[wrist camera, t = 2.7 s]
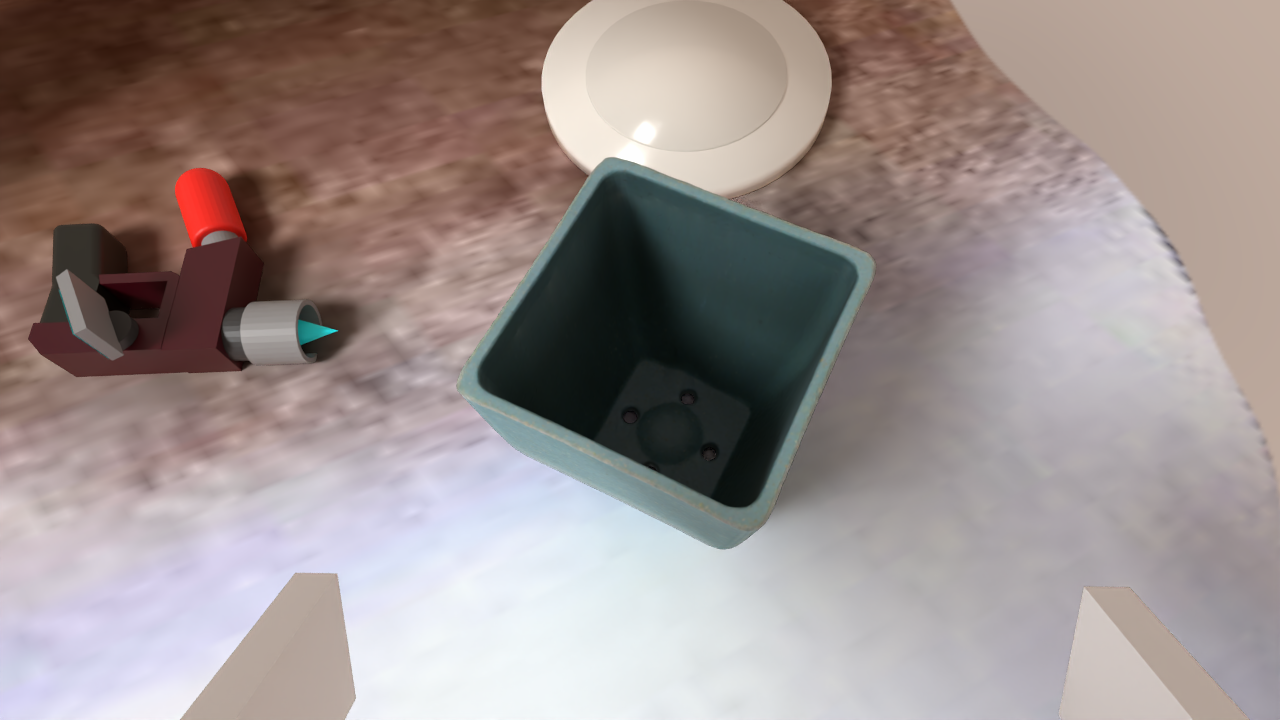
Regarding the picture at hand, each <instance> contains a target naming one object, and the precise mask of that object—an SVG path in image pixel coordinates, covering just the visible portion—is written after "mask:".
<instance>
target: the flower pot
mask: <svg viewBox="0 0 1280 720" xmlns="http://www.w3.org/2000/svg"><path fill="white" fill-rule="evenodd" d="M875 272H876V262H875V260H874V259H873V258H872V256H871V255H870V254H869V253H867V252H865V251H863V250H861V249H859V248H857V247H854V246H851V245H850V244H848V243H844V242H841V241H838V240H836V239H833V238H831V237H828V236H825V235H822V234H819V233H816V232H813V231H811V230H809V229H806V228H803V227H800V226H797V225H795V224H792V223H790V222H788V221H785V220H782V219H780V218H776V217H774V216H773V215H770V214H767V213H764V212H762V211H759V210H756V209H753V208H750V207H748V206H745V205H743V204H739V203H738V202H735V201H732V200H730V199H727V198H726V197H723V196H720V195H717V194H714V193H711V192H709V191H706V190H703V189H701V188H699V187H696V186H694V185H692V184H690V183H687V182H684V181H681V180H678V179H676V178H673V177H670V176H668V175H666V174H663V173H660V172H658V171H656V170H654V169H651V168H648V167H646V166H643V165H640V164H638V163H636V162H632V161H629V160H625V159H621V158H617V157H608V158H605V159H604V160H603V161H602V162H601V163H599V164H598V165H597V166H596V167H595V169H594V170H593V171H592V172H591V174H590V175H589V177H588V178H587V180H586V181H585V183H584V185H583V186H582V188H581V189H580V191H579V193H578V194H577V196H576V197H575V199H574V200H573V202H572V204H571V205H570V206H569V208H568V210H567V211H566V213H565V215H564V216H563V218H562V220H561V221H560V223H559V224H558V226H557V227H556V229H555V231H554V232H553V233H552V235H551V237H550V239H549V240H548V242H547V243H546V244H545V246H544V247H543V249H542V250H541V252H540V254H539V255H538V257H537V258H536V259H535V261H534V263H533V265H532V267H531V268H530V269H529V271H528V272H527V273H526V275H525V277H524V278H523V280H522V281H521V282H520V283H519V285H518V286H517V288H516V290H515V292H514V293H513V294H512V296H511V297H510V299H509V300H508V301H507V303H506V305H505V306H504V307H503V309H502V310H501V311H500V313H499V314H498V317H497V319H496V320H495V321H494V322H493V323H492V325H491V327H490V328H489V330H488V331H487V333H486V334H485V336H484V337H483V339H482V340H481V341H480V343H479V344H478V346H477V347H476V349H475V350H474V352H473V354H472V355H471V356H470V358H469V359H468V361H467V362H466V364H465V365H464V367H463V369H462V371H461V373H460V375H459V378H458V380H457V385H456V387H457V391H458V392H459V393H460V394H461V395H462V396H463V397H464V398H465V399H466V400H467V401H468V402H469V403H470V405H471V406H472V407H473V408H474V409H475V410H476V411H477V412H478V413H479V414H480V415H481V416H482V417H483V418H484V419H485V420H486V421H487V422H488V423H489V424H490V425H491V426H492V427H493V428H494V429H495V430H496V432H498V433H499V434H500V435H501V436H502V437H503V438H504V439H505V440H506V441H507V442H508V443H509V444H510V445H511V446H513V447H514V448H515V449H517V450H518V451H520V452H521V453H523V454H524V455H526V456H528V457H530V458H532V459H534V460H536V461H538V462H540V463H542V464H544V465H547V466H549V467H551V468H553V469H555V470H557V471H559V472H561V473H563V474H565V475H568V476H570V477H572V478H574V479H576V480H578V481H580V482H582V483H584V484H586V485H588V486H590V487H593V488H595V489H597V490H599V491H601V492H603V493H605V494H607V495H609V496H611V497H613V498H615V499H617V500H619V501H621V502H623V503H625V504H628V505H630V506H632V507H634V508H636V509H638V510H640V511H642V512H644V513H646V514H648V515H650V516H652V517H654V518H656V519H658V520H660V521H662V522H664V523H666V524H668V525H670V526H672V527H674V528H676V529H678V530H680V531H682V532H683V533H685V534H687V535H689V536H691V537H693V538H695V539H697V540H699V541H701V542H703V543H705V544H707V545H709V546H712V547H715V548H718V549H730V548H733V547H736V546H737V545H739V544H740V543H742V542H743V541H745V540H746V539H747V538H749V537H750V536H751V535H752V534H754V533H755V532H756V531H757V530H758V529H759V528H761V527H762V526H763V525H764V524H765V523H766V521H767V520H768V518H769V516H770V514H771V512H772V510H773V508H774V506H775V504H776V501H777V499H778V496H779V494H780V491H781V488H782V485H783V483H784V481H785V479H786V476H787V474H788V471H789V469H790V467H791V464H792V462H793V460H794V457H795V455H796V452H797V450H798V448H799V446H800V442H801V440H802V438H803V436H804V433H805V431H806V429H807V426H808V424H809V422H810V419H811V417H812V415H813V412H814V410H815V407H816V405H817V403H818V400H819V398H820V396H821V394H822V392H823V390H824V387H825V385H826V382H827V380H828V378H829V376H830V373H831V371H832V369H833V367H834V364H835V362H836V360H837V357H838V355H839V353H840V350H841V348H842V346H843V344H844V342H845V339H846V337H847V335H848V333H849V331H850V328H851V326H852V324H853V322H854V320H855V318H856V315H857V313H858V311H859V309H860V306H861V304H862V302H863V300H864V298H865V296H866V295H867V293H868V290H869V288H870V286H871V283H872V281H873V279H874V276H875ZM684 394H691V395H693V396H694V399H695V401H694V403H693V404H683V403H682V402H681V397H682V396H683V395H684ZM628 411H634V412H635V413H636V414H637V420H636V421H635V422H634V423H630V424H629V423H626V422H625V421H624V420H623V415H624V414H625V412H628ZM709 447H711V448H713V449H714V450H715V451H716V457H715V458H714V459H713V460H710V461H709V460H706V459H704V457H703V455H702V452H703V451H704V450H705V449H706V448H709ZM648 466H652V467H654V468H655V469H656V470H657V471H655V470H652V469H650V468H648Z"/></svg>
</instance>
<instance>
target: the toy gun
mask: <svg viewBox="0 0 1280 720" xmlns="http://www.w3.org/2000/svg"><path fill="white" fill-rule="evenodd" d="M175 194H176V198H177V201H178V204H179V207H180V210H181V213H182V216H183V219H184V222H185V225H186V228H187V231H188V234H189V237H190V240H191V244H192V246H193V248H189V249H187V250H186V254H185V258H184V261H183V265H182V269H181V273H180V276H179V275H177V274H175V273H174V272H172V271H168V272H147V273H127V252H126V249H125V247H124V246H123V245H122V244H121V243H120V242H119V241H118V240H117V239H116V238H115V237H114V236H112V235H111V234H110V233H109V232H108V231H107V230H106V229H105V228H104V227H102V226H101V225H99V224H72V225H60V226H57V227H56V228H55V229H54V234H53V267H52V288H51V291H50V294H49V297H48V300H47V303H46V306H45V309H44V312H43V315H42V318H41V321H40V323H33V326H32V329H31V332H30V335H29V338H28V339H29V341H30V342H31V343H32V344H33V346H34V347H35V348H36V349H37V351H38V352H39V353H40V354H41V355H42V356H44V357H46V358H47V359H49V360H50V361H52V362H53V363H55V364H57V365H58V366H60V367H61V368H63V369H65V370H66V371H68V372H69V373H71V374H73V375H74V376H76V377H87V376H111V375H134V374H157V373H180V372H188V373H204V372H227V371H242V366H243V361H250V362H251V363H253V364H254V365H257V366H258V365H281V364H304V363H314V362H316V358H317V353H305V354H304V352H303V350H302V348H301V346H300V345H303V344H305V343H308V342H310V341H313V340H316V339H318V338H321V337H323V336H326V335H328V334H331V333H334V332H336V331H338V330H334V329H331V328H327V327H324V326H322V320H321V316H320V313H319V311H318V309H317V307H316V305H315V304H314V303H313V302H312V301H311V300H307V299H305V300H283V301H261V302H256V299H257V294H258V289H259V284H260V280H261V275H262V270H263V265H264V263H263V262H262V261H261V260H260V258H259V257H258V256H257V255H256V254H255V252H254V251H253V250H252V249H251V248H250V246H249V245H248V244H247V243H246V242H247V235H246V232H245V229H244V226H243V224H242V221H241V218H240V215H239V213H238V210H237V207H236V204H235V202H234V199H233V196H232V194H231V191H230V188H229V186H228V184H227V182H226V180H225V179H224V178H223V177H222V176H221V175H220V174H218V173H217V172H215V171H213V170H210V169H206V168H195V169H191V170H189V171H186V172H185V173H184V174H182V175H181V176H180V177H179V179H178V181H177V183H176V187H175ZM149 308H160V311H159V315H158V318H138V319H133V318H131V317H130V316H129V311H130V309H149Z"/></svg>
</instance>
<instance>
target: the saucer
mask: <svg viewBox="0 0 1280 720" xmlns="http://www.w3.org/2000/svg"><path fill="white" fill-rule="evenodd" d="M831 88H832V76H831V67H830V62H829V58H828V55H827V53H826V50H825V47H824V45H823V43H822V41H821V40H820V38H819V36H818V34H817V33H816V31H815V30H814V29H813V28H812V26H811V25H810V24H809V23H808V21H807V20H806V19H805V18H804V17H803V16H802V15H801V14H800V13H798V12H797V11H796V10H795V9H794V8H793V7H791V6H790V5H788V4H787V3H786V2H784V1H783V0H593V1H591V2H590V3H588V4H587V5H585V6H584V7H583V8H582V9H580V10H579V11H578V12H576V13H575V14H574V15H573V16H572V17H571V18H570V19H569V20H568V21H567V22H566V23H565V25H564V26H563V27H562V29H561V30H560V31H559V32H558V34H557V35H556V37H555V39H554V40H553V42H552V44H551V46H550V48H549V50H548V53H547V56H546V58H545V61H544V66H543V72H542V94H543V100H544V105H545V111H546V116H547V120H548V123H549V126H550V129H551V131H552V134H553V136H554V137H555V139H556V141H557V143H558V145H559V146H560V148H561V149H562V150H563V152H564V153H565V154H566V155H567V157H568V158H569V159H570V160H571V161H572V162H573V163H574V164H575V165H576V166H577V167H578V168H579V169H580V170H582V171H583V172H584V173H586V174H587V175H590V174H591V172H592V171H593V170H594V169H595V167H596V166H597V165H598V164H599V163H601V162H602V161H603V160H604V159H605V158H608V157H617V158H621V159H625V160H629V161H632V162H636V163H638V164H640V165H643V166H646V167H648V168H651V169H654V170H656V171H658V172H660V173H663V174H666V175H668V176H670V177H673V178H676V179H678V180H681V181H684V182H687V183H690V184H692V185H694V186H696V187H699V188H701V189H703V190H706V191H709V192H711V193H714V194H717V195H720V196H723V197H726V198H727V199H731V198H735V197H738V196H742V195H745V194H748V193H750V192H752V191H755V190H757V189H760V188H762V187H764V186H766V185H768V184H769V183H771V182H773V181H775V180H776V179H778V178H780V177H781V176H782V175H784V174H785V173H786V172H788V171H789V170H790V169H792V168H793V167H794V166H795V165H796V164H797V163H798V162H799V161H800V160H801V159H802V158H803V157H804V156H805V155H806V153H807V152H808V151H809V149H810V148H811V147H812V145H813V144H814V142H815V140H816V139H817V137H818V135H819V133H820V131H821V129H822V126H823V123H824V120H825V117H826V113H827V109H828V105H829V101H830V94H831Z"/></svg>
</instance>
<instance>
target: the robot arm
mask: <svg viewBox="0 0 1280 720" xmlns="http://www.w3.org/2000/svg"><path fill="white" fill-rule="evenodd" d="M355 699H356V695H355V688H354V682H353V675H352V668H351V662H350V655H349V648H348V642H347V635H346V629H345V622H344V615H343V609H342V602H341V595H340V589H339V582H338V575H337V574H331V573H295V574H294V575H293V577H292V578H291V579H290V580H289V582H288V583H287V584H286V586H285V587H284V588H283V589H282V591H281V592H280V593H279V594H278V596H277V597H276V598H275V600H274V601H273V602H272V603H271V605H270V606H269V607H268V608H267V610H266V611H265V612H264V614H263V615H262V616H261V617H260V619H259V620H258V621H257V623H256V624H255V625H254V626H253V628H252V629H251V630H250V631H249V633H248V634H247V635H246V637H245V638H244V639H243V640H242V642H241V643H240V644H239V645H238V647H237V648H236V649H235V651H234V652H233V653H232V654H231V656H230V657H229V658H228V659H227V661H226V662H225V663H224V665H223V666H222V667H221V668H220V670H219V671H218V672H217V673H216V675H215V676H214V677H213V679H212V680H211V681H210V682H209V684H208V685H207V686H206V687H205V689H204V690H203V691H202V693H201V694H200V695H199V696H198V698H197V699H196V700H195V701H194V703H193V704H192V705H191V707H190V708H189V709H188V710H187V712H186V713H185V714H184V716H183V717H182V718H181V719H180V720H345V718H346V716H347V714H348V712H349V710H350V709H351V707H352V705H353V703H354V701H355ZM1059 717H1060V718H1061V720H1250V719H1249V718H1248V717H1247V716H1246V715H1245V714H1244V713H1243V712H1242V711H1241V710H1240V708H1239V707H1238V706H1237V705H1236V704H1235V703H1234V702H1233V701H1232V700H1231V699H1230V697H1229V696H1228V695H1227V694H1226V693H1225V692H1224V691H1223V690H1222V689H1221V688H1220V686H1219V685H1218V684H1217V683H1216V682H1215V681H1214V680H1213V679H1212V678H1211V677H1210V675H1209V674H1208V673H1207V672H1206V671H1205V670H1204V669H1203V668H1202V667H1201V666H1200V664H1199V663H1198V662H1197V661H1196V660H1195V659H1194V658H1193V657H1192V656H1191V655H1190V653H1189V652H1188V651H1187V650H1186V649H1185V648H1184V647H1183V646H1182V645H1181V644H1180V642H1179V641H1178V640H1177V639H1176V638H1175V637H1174V636H1173V635H1172V634H1171V633H1170V631H1169V630H1168V629H1167V628H1166V627H1165V626H1164V625H1163V624H1162V623H1161V622H1160V620H1159V619H1158V618H1157V617H1156V616H1155V615H1154V614H1153V613H1152V612H1151V611H1150V609H1149V608H1148V607H1147V606H1146V605H1145V604H1144V603H1143V602H1142V601H1141V600H1140V598H1139V597H1138V596H1137V595H1136V594H1135V593H1134V592H1133V591H1132V590H1131V589H1130V587H1084V589H1083V594H1082V599H1081V604H1080V609H1079V614H1078V619H1077V624H1076V629H1075V634H1074V639H1073V644H1072V649H1071V654H1070V659H1069V664H1068V669H1067V674H1066V680H1065V685H1064V690H1063V695H1062V700H1061V705H1060V710H1059Z"/></svg>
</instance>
